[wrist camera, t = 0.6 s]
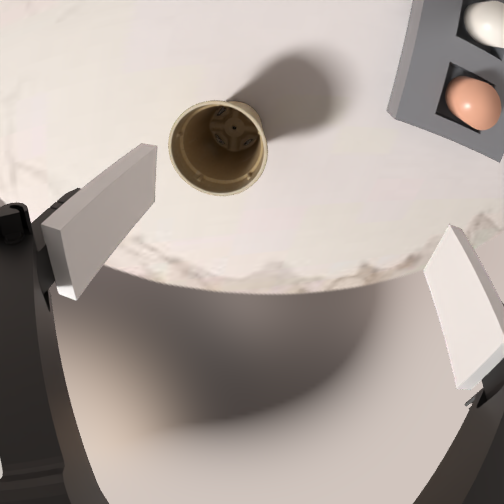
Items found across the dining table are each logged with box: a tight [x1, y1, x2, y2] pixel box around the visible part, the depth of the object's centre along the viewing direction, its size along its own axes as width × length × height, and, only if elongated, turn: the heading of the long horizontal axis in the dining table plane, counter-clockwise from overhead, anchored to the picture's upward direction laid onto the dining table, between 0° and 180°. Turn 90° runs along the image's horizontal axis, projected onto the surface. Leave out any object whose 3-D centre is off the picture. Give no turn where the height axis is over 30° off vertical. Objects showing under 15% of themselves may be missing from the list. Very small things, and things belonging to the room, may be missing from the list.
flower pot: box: [168, 101, 268, 196], centre depth 32 cm, size 9×9×9 cm
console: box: [387, 0, 504, 163], centre depth 21 cm, size 28×14×4 cm, turn 171°
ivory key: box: [464, 1, 504, 48], centre depth 18 cm, size 5×5×4 cm
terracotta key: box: [445, 76, 501, 130], centre depth 23 cm, size 5×5×4 cm
